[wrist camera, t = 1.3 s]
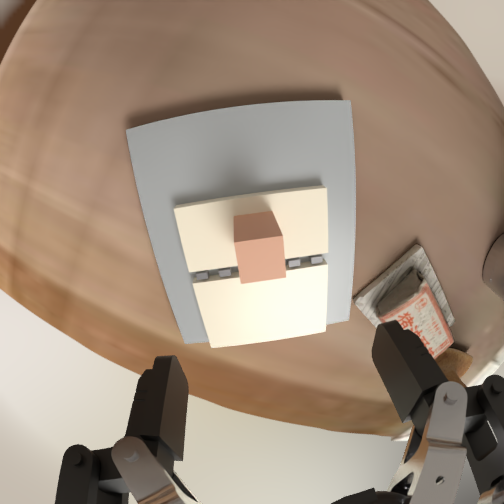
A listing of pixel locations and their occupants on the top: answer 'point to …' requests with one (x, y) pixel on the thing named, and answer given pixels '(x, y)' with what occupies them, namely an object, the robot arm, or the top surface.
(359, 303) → the packaged product
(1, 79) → the top surface
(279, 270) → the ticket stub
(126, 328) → the top surface
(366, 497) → the robot arm
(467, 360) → the brown hollow piece
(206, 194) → the board
